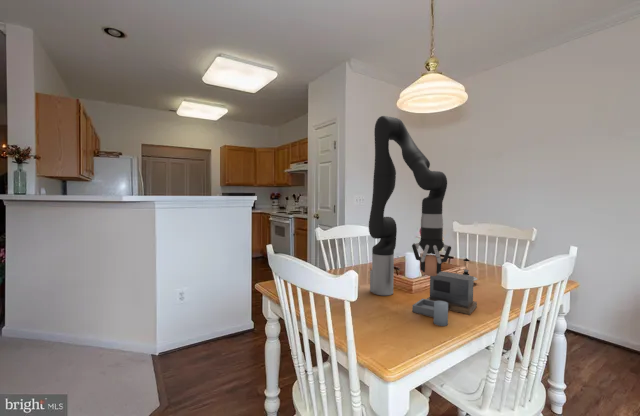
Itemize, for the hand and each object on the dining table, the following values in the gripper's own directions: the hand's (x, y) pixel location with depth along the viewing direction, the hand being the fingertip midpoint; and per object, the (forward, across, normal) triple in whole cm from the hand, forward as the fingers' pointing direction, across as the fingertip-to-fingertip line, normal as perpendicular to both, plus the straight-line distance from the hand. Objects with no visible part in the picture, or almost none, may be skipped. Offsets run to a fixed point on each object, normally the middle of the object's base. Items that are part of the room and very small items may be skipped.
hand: (430, 272), depth 113 cm
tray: (+15, 0, 0) cm, 15 cm away
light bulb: (+15, +14, +45) cm, 49 cm away
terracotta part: (+1, 0, 0) cm, 1 cm away
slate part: (+15, +4, -10) cm, 18 cm away
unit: (+15, +7, +9) cm, 19 cm away
